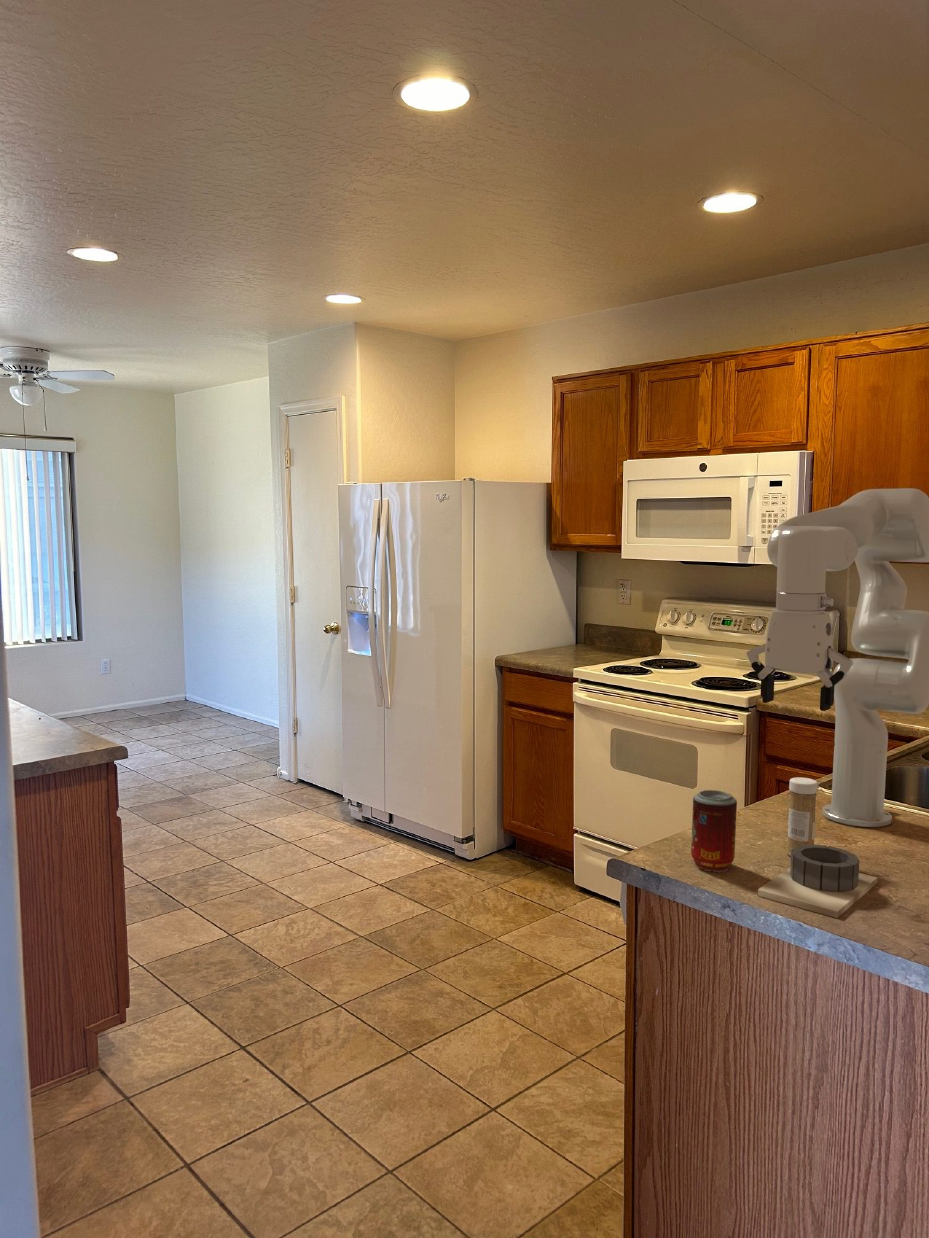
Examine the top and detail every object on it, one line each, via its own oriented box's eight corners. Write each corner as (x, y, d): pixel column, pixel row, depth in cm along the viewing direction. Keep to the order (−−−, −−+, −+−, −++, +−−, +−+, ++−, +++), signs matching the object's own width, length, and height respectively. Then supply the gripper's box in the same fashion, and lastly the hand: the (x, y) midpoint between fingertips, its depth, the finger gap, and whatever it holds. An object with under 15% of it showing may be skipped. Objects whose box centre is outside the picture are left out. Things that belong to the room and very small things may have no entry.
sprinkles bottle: (819, 857, 157) (823, 781, 156) (802, 862, 155) (806, 784, 153) (796, 849, 161) (800, 775, 160) (780, 854, 159) (784, 778, 157)
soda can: (690, 856, 157) (693, 786, 156) (733, 860, 155) (736, 790, 154) (690, 870, 150) (693, 798, 149) (734, 875, 148) (738, 802, 147)
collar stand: (802, 864, 154) (804, 835, 153) (877, 883, 146) (878, 853, 145) (757, 895, 140) (759, 864, 140) (837, 918, 132) (839, 884, 132)
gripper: (862, 605, 147) (857, 709, 149) (759, 598, 158) (755, 695, 160) (846, 608, 141) (841, 716, 143) (740, 601, 152) (737, 702, 154)
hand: (796, 705), depth 151 cm, fingers open, 9 cm apart
